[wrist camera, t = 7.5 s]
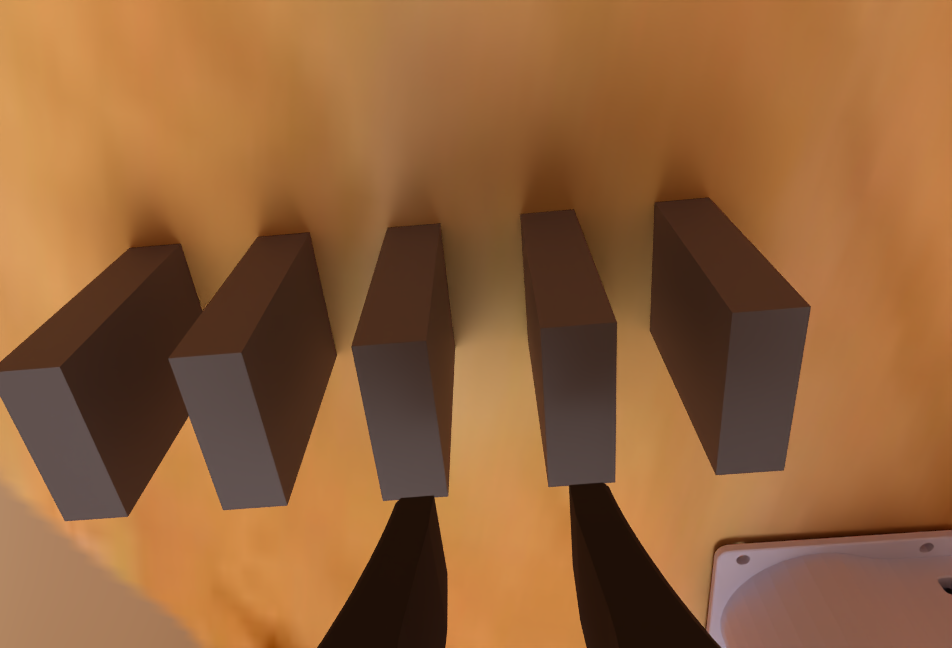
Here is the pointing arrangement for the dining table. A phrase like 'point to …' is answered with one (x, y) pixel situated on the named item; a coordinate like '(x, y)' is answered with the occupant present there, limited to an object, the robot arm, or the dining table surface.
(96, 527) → the dining table surface
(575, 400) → the tile
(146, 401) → the tile
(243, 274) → the tile
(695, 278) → the tile
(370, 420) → the tile
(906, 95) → the dining table surface
